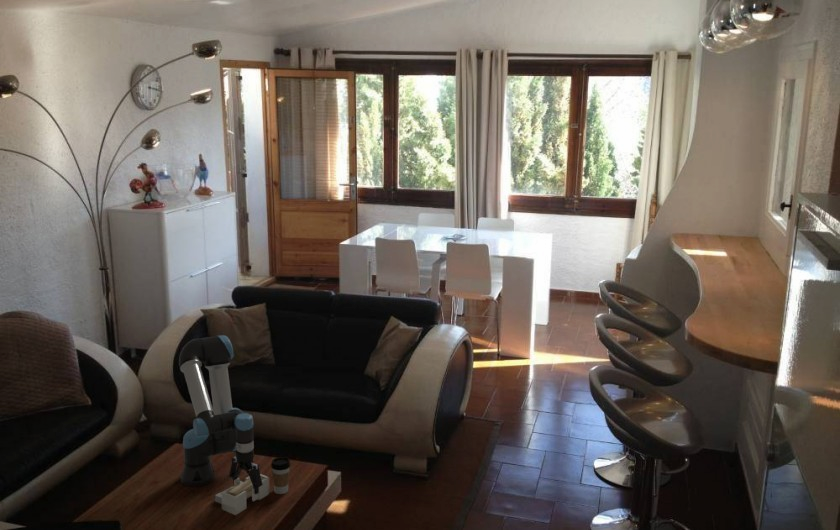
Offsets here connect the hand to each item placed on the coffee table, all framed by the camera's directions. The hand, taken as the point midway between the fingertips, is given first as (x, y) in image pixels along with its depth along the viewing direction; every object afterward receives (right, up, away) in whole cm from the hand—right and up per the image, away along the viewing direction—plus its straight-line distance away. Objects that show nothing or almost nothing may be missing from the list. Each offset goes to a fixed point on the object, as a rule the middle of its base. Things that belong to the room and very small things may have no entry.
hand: (246, 496), depth 325 cm
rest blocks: (-7, -1, +5) cm, 9 cm away
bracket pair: (0, -2, +1) cm, 2 cm away
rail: (0, +1, 0) cm, 1 cm away
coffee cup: (+13, -1, +10) cm, 17 cm away
